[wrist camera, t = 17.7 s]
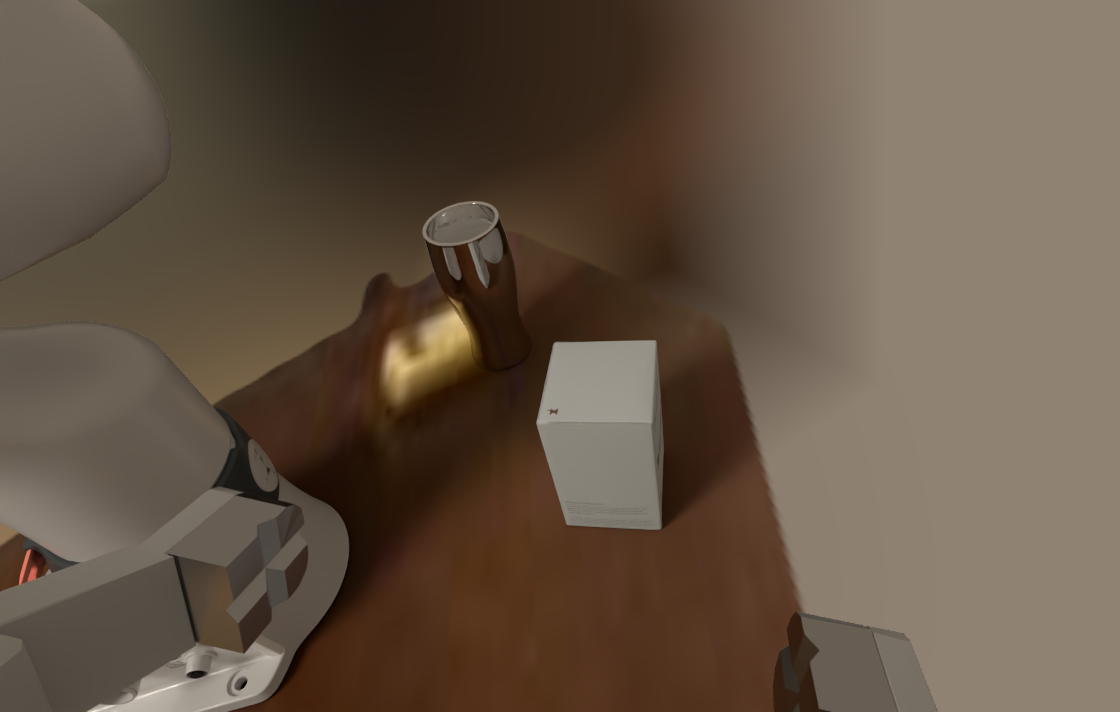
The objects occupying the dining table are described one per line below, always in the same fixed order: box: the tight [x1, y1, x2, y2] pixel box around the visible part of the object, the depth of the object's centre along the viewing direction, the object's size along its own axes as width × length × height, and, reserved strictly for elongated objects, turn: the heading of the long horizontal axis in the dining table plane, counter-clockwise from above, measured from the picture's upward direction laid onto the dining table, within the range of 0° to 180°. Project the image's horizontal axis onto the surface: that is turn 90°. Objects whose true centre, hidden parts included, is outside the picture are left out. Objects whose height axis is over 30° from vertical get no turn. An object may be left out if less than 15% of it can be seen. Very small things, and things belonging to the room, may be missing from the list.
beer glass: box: [422, 201, 531, 370], centre depth 55 cm, size 7×7×15 cm
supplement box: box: [536, 340, 664, 530], centre depth 42 cm, size 7×7×13 cm
